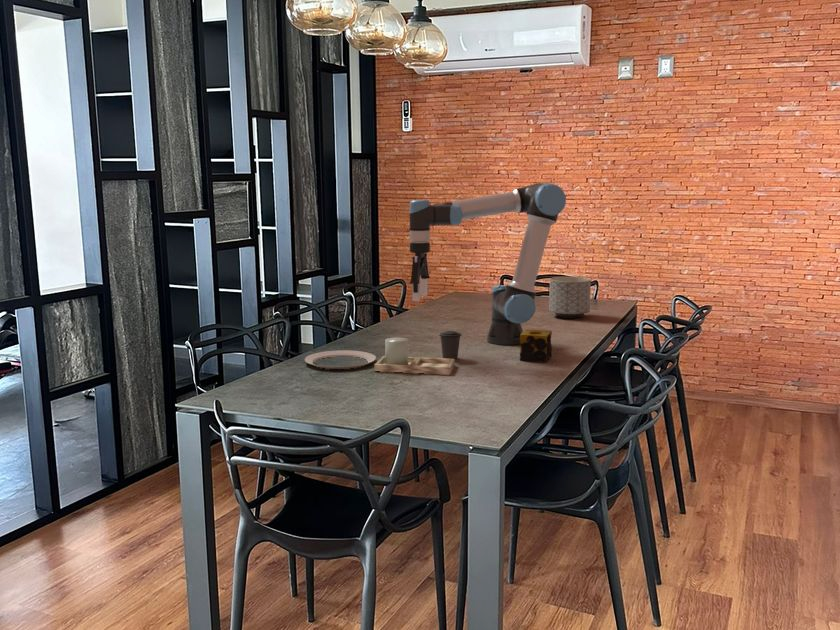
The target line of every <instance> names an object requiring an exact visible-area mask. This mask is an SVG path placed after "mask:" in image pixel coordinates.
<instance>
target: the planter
mask: <svg viewBox="0 0 840 630" xmlns="http://www.w3.org/2000/svg"><path fill="white" fill-rule="evenodd" d="M591 283H592V282H591V278H588V277H584V276H554V277H550V278H549V294H548V295H549V297H548V298H549V299H548V311H549V312H552V313H553V314H555V315H556V316H558V317H560V318H562V317H565V318H564V319H577V318H576V317H578V318H579V317H581V316H583V315H585V314H588V313H590V310H591V288H592V287H591V285H592V284H591Z"/></svg>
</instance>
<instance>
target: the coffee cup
mask: <svg viewBox="0 0 840 630" xmlns="http://www.w3.org/2000/svg"><path fill="white" fill-rule="evenodd" d="M438 335H439V336H440V343H441V351H442V352H441V353H442V358H446V359H455V361H457V360H458V357H459V349H460V340H461V337H462V334H461V333H460V332H457V331H450V330H448V331H443V332H440V333H439V334H438Z"/></svg>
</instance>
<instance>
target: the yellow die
mask: <svg viewBox="0 0 840 630" xmlns="http://www.w3.org/2000/svg"><path fill="white" fill-rule="evenodd" d="M552 332H553V331H552V330H545V329H544V330H543V329H540V330H539V329H525V330H523V333H521V334H520V344H519V345H520V349H519V351H520V352H519V357H520V358H519V361H521V362H532V363H534V362H535V363H548V362H549V360H551V358H552V356H553V354H552V352H553V350H552V349H553V347H552V340H551V339H552V334H553V333H552Z"/></svg>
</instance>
